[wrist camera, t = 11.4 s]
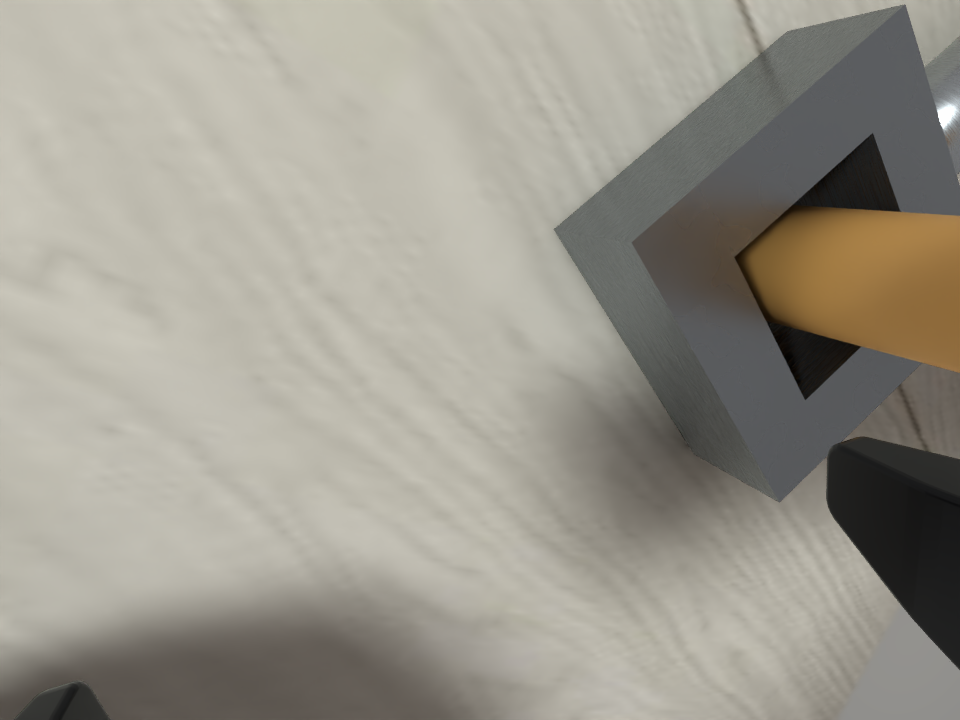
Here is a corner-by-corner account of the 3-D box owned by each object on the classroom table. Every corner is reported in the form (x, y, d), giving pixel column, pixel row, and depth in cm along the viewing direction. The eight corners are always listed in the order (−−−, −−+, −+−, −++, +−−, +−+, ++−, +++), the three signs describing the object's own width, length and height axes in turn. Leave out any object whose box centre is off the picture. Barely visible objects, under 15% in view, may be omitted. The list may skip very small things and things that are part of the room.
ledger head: (693, 453, 25) (779, 502, 21) (553, 229, 20) (631, 242, 17) (1018, 147, 27) (1144, 144, 24) (954, -111, 23) (1096, -163, 19)
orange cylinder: (743, 327, 24) (1257, 477, 12) (675, 278, 22) (1192, 398, 11) (795, 236, 24) (1365, 302, 12) (730, 180, 22) (1315, 196, 11)
